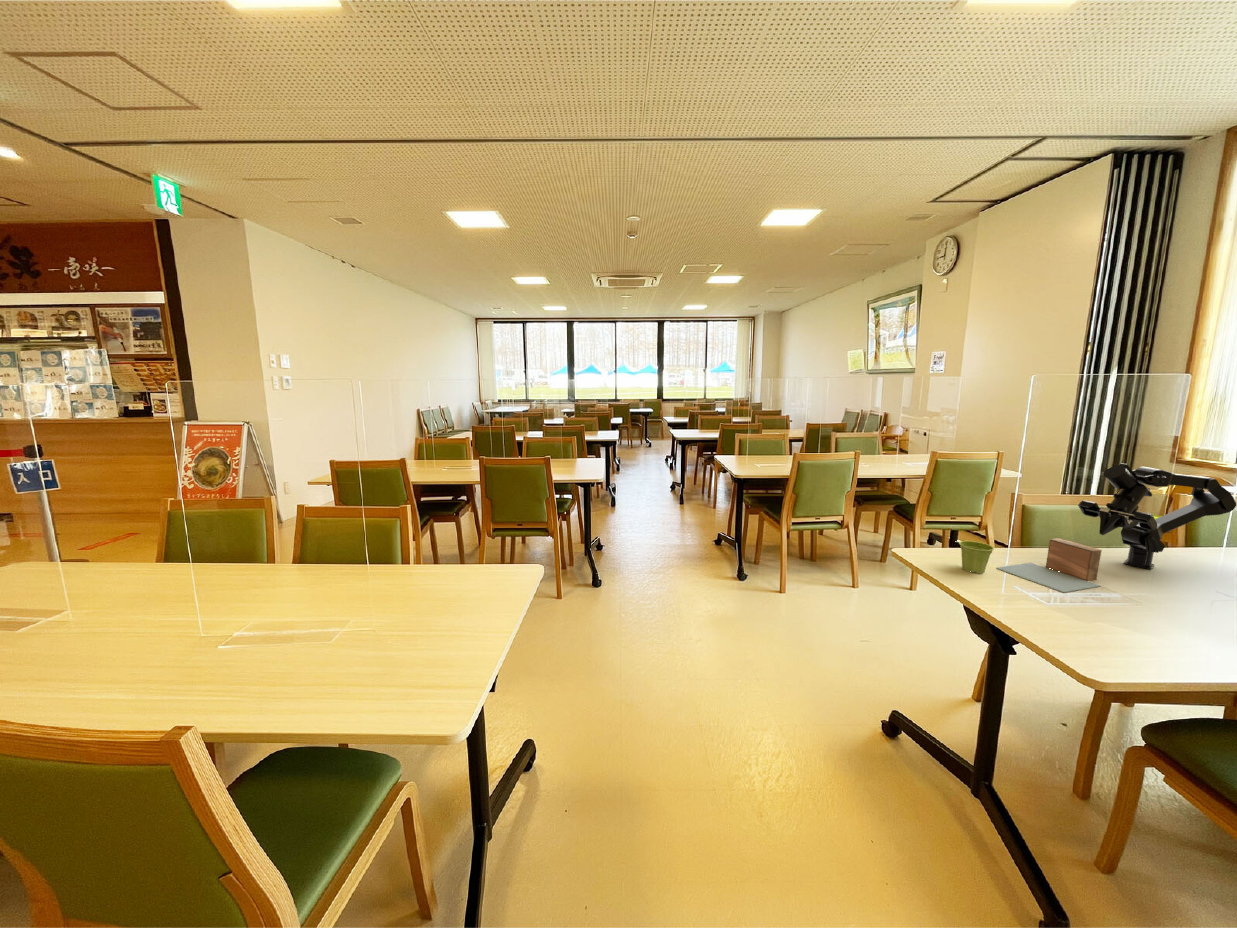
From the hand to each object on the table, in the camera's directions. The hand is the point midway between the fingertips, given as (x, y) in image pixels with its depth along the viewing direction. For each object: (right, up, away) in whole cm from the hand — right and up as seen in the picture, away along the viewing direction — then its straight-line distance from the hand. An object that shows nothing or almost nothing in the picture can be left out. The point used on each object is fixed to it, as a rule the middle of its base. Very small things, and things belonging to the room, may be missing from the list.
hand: (1101, 534), depth 162 cm
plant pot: (-41, -12, +2) cm, 43 cm away
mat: (-22, -13, -4) cm, 26 cm away
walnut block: (-11, -13, -1) cm, 17 cm away
